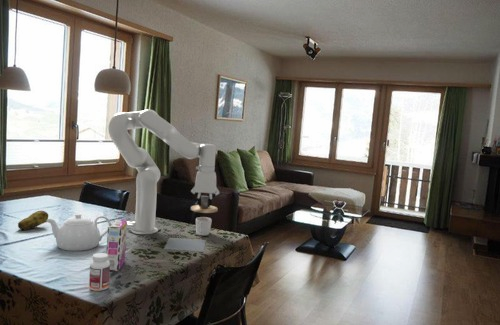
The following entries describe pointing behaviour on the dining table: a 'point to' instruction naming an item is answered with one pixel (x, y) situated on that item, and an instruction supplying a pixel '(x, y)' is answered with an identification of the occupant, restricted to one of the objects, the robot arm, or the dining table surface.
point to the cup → (203, 225)
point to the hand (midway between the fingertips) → (204, 206)
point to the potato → (33, 220)
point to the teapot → (77, 233)
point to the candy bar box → (116, 244)
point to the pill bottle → (99, 272)
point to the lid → (204, 206)
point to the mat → (185, 244)
